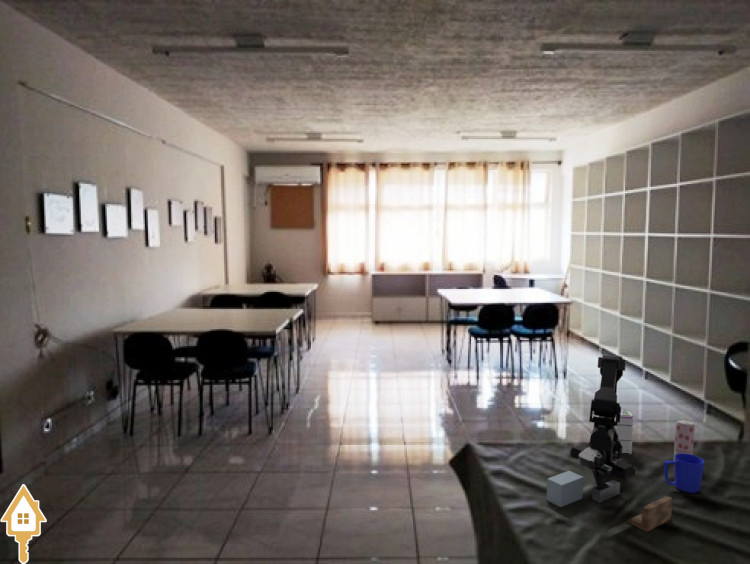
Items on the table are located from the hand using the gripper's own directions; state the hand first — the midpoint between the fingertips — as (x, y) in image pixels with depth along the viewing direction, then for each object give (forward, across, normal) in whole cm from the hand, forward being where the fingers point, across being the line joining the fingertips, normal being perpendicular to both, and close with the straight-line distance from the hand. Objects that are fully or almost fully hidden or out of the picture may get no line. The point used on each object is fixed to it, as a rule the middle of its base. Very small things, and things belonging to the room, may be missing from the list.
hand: (599, 487), depth 167 cm
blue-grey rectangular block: (+3, -3, -12) cm, 13 cm away
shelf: (+3, +5, 0) cm, 6 cm away
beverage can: (+3, 0, +47) cm, 47 cm away
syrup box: (+4, -18, +39) cm, 43 cm away
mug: (+3, +11, +27) cm, 29 cm away
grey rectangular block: (+2, +2, 0) cm, 3 cm away
